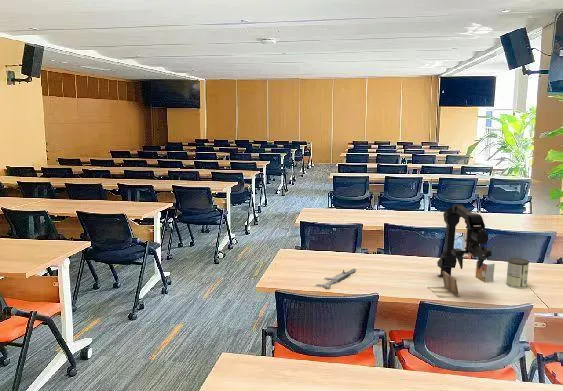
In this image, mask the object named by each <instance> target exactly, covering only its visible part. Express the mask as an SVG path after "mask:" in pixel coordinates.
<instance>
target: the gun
mask: <svg viewBox="0 0 563 391" xmlns="http://www.w3.org/2000/svg"><path fill="white" fill-rule="evenodd" d="M356 271H357V268H351V269H350V270H348V271H345V270H344V269H343V270H342V272H341V273H338V274H336V276H333V277H324V278H323V279H324V280H325V279H327V280H326V281H327V282H326V283H317V284H315V285H316V286H323V287H322V288H324V287H325V288H324V289H326V288H327V290H329V289H330V288H331V287H332V284H336V283H335V282H338V283H340V282H342V281H343V280H345V279H347V278H349V277H350V276H351V275H352V274H353V273H355V272H356ZM348 276H349V277H348ZM329 280H331V281H329ZM341 280H342V281H341ZM316 286H315V287H316Z"/></svg>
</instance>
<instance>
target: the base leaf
mask: <svg viewBox="0 0 563 391" xmlns="http://www.w3.org/2000/svg"><path fill="white" fill-rule="evenodd" d="M427 289H428V290H430V291H431V292H432V293H433V294H434V295H435V296H436V297H438V299H439V298H460V295H459V294H458V295H456V294H455V293H453V294H452V293H451V292H450V291H448V290H447V289H448V288H447V287H446V286H445V285H444V286H428V287H427Z"/></svg>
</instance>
